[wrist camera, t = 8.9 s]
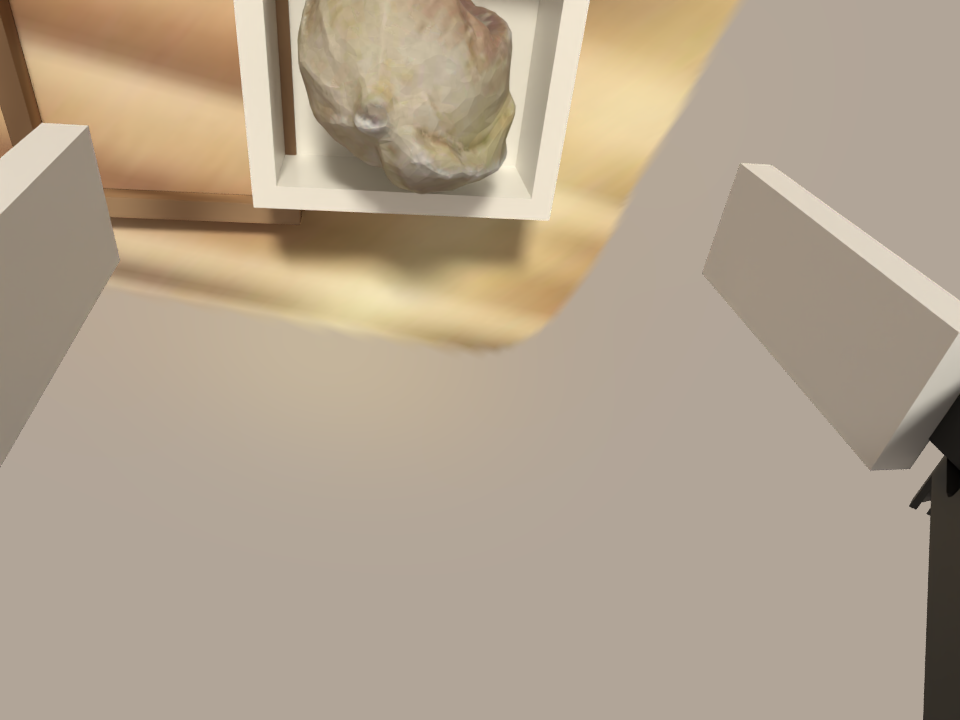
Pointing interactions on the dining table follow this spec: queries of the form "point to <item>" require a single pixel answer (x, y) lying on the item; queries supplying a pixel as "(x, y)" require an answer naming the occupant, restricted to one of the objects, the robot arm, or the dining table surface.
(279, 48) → the frame
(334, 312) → the dining table surface
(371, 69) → the garlic bulb
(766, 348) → the robot arm
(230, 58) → the dining table surface
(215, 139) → the dining table surface
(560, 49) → the open box
